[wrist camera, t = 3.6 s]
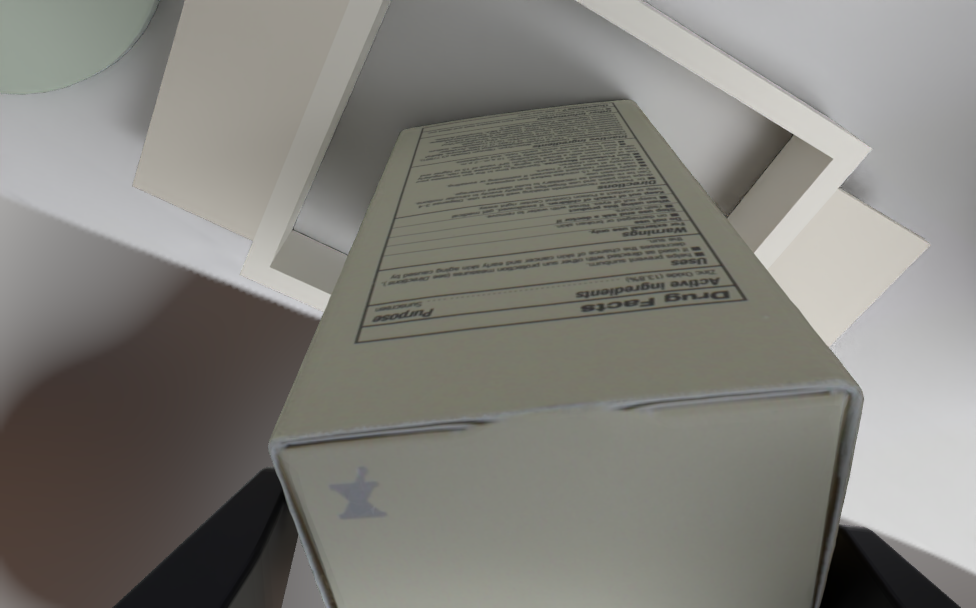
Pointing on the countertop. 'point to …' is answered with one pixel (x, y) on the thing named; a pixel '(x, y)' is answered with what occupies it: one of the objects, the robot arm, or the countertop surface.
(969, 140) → the countertop surface
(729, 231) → the skincare box
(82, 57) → the coaster
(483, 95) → the countertop surface
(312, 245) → the white rectangular tray
